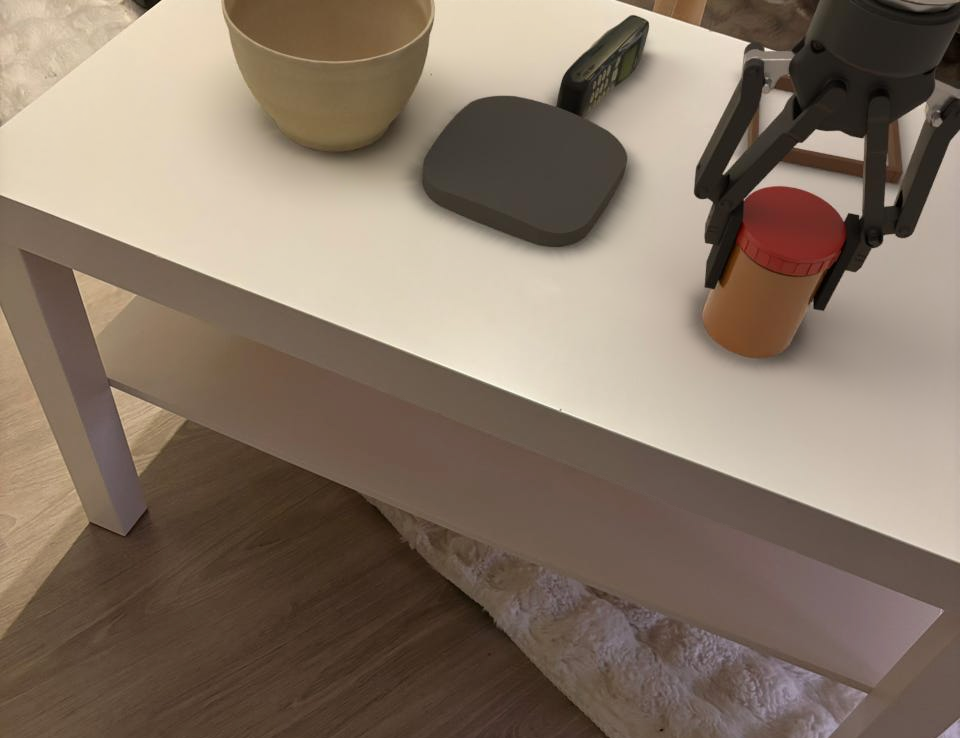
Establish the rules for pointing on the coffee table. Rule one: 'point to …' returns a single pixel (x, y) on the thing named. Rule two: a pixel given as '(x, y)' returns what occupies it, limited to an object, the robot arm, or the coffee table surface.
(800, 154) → the picture frame
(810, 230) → the lid
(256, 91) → the planter bowl
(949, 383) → the coffee table surface
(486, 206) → the media streaming box
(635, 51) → the mobile phone
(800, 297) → the jar
